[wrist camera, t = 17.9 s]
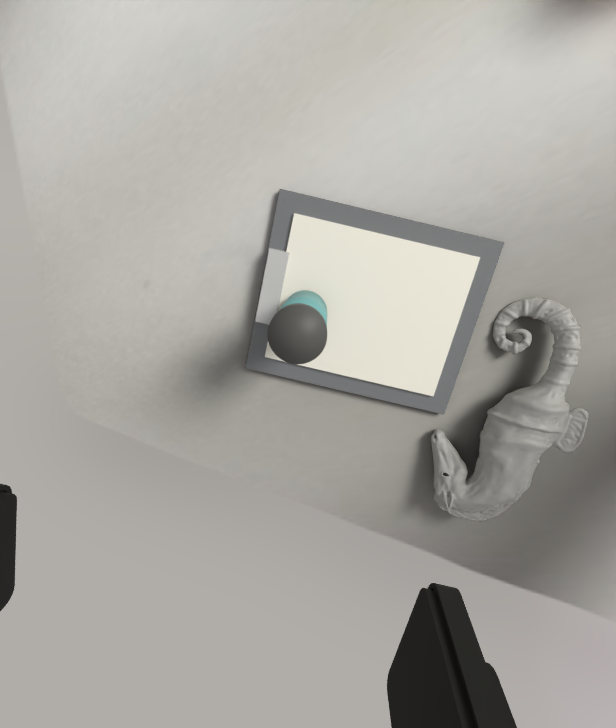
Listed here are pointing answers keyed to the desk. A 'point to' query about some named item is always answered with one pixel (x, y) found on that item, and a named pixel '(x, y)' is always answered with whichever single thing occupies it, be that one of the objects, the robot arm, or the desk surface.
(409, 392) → the clipboard
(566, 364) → the seahorse
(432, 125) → the desk surface
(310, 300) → the marker
